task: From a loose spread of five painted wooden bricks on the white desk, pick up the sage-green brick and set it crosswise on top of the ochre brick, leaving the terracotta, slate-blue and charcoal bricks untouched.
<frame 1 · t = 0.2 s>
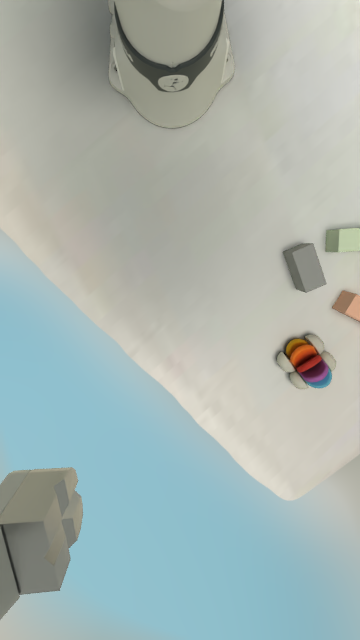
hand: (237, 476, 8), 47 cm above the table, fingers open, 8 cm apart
sage brick: (346, 239, 53), on the table
charcoal brick: (298, 266, 54), on the table
terracotta brick: (353, 307, 55), on the table
multicolored fanned-prong toy: (301, 357, 58), on the table
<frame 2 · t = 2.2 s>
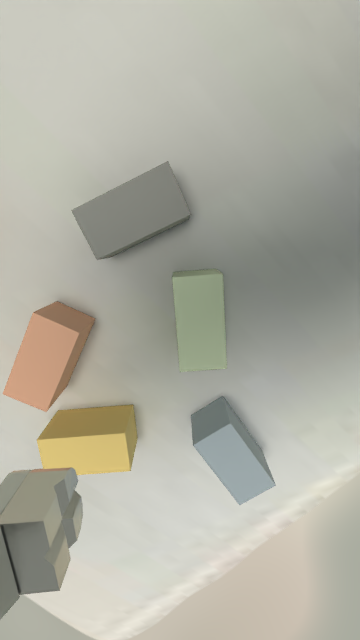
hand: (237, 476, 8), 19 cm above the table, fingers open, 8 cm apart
sage brick: (196, 311, 26), on the table
charcoal brick: (139, 217, 24), on the table
slate brick: (226, 432, 29), on the table
terracotta brick: (62, 344, 27), on the table
ochre brick: (98, 423, 29), on the table
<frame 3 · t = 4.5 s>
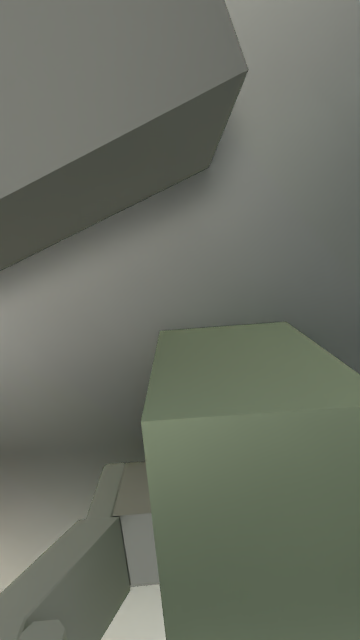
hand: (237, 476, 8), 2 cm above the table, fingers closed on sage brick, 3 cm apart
sage brick: (227, 437, 9), on the table, touching gripper
charcoal brick: (50, 162, 8), on the table
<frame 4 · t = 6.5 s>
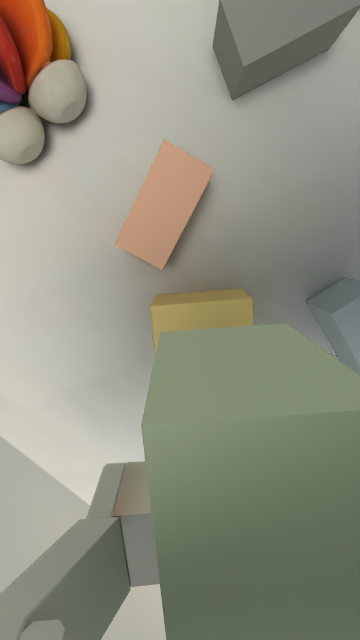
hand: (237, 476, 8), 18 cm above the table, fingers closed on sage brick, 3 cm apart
sage brick: (227, 438, 9), point 17 cm above the table, touching gripper
charcoal brick: (269, 49, 21), on the table
slate brick: (343, 323, 26), on the table
terracotta brick: (167, 213, 24), on the table
multicolored fanned-prong toy: (23, 91, 22), on the table
ochre brick: (199, 311, 26), on the table
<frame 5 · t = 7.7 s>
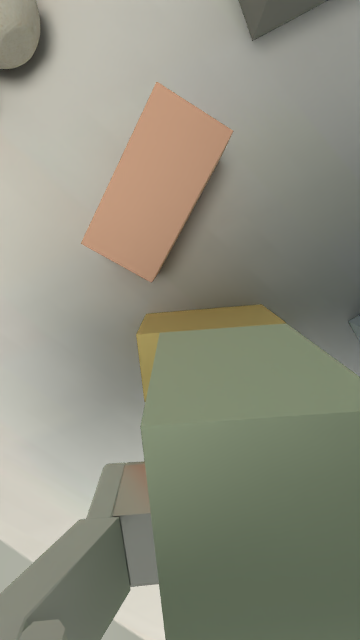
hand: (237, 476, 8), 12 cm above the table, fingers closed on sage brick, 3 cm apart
sage brick: (227, 439, 9), point 10 cm above the table, touching gripper
terracotta brick: (160, 203, 17), on the table
ochre brick: (205, 336, 19), on the table
when the fingers open (7 cm above the table, at t = 8.8 s): sage brick stays where it is, resting on ochre brick.
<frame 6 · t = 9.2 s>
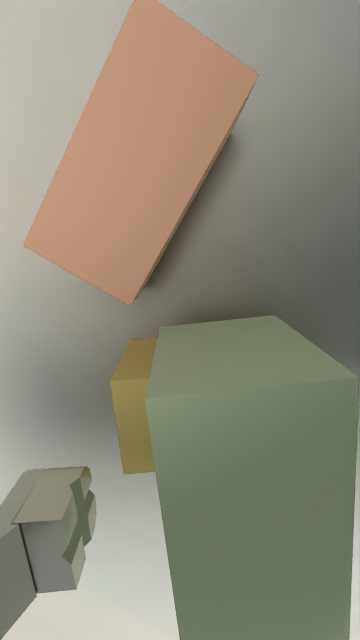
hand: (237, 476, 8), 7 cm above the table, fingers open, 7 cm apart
sage brick: (225, 422, 10), point 4 cm above the table, touching ochre brick
terracotta brick: (148, 192, 13), on the table
ochre brick: (208, 368, 15), on the table, touching sage brick
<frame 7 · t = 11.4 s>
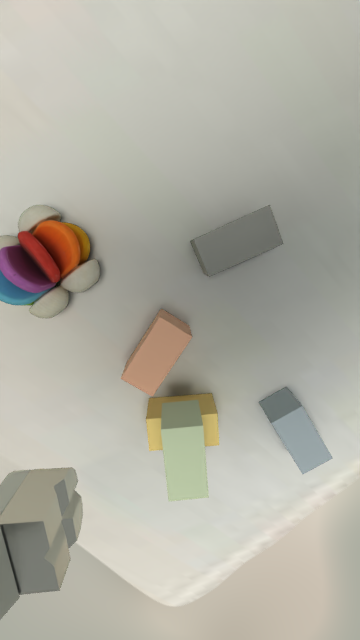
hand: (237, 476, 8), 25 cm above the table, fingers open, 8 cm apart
sage brick: (183, 433, 30), point 4 cm above the table, touching ochre brick
charcoal brick: (228, 242, 31), on the table
slate brick: (286, 417, 35), on the table
terracotta brick: (157, 343, 33), on the table
multicolored fanned-prong toy: (53, 263, 31), on the table
ochre brick: (181, 409, 35), on the table, touching sage brick
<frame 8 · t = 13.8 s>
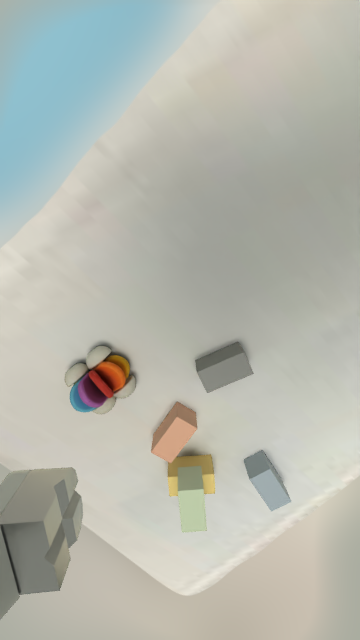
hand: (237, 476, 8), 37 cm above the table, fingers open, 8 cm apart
sage brick: (191, 486, 47), point 4 cm above the table
charcoal brick: (220, 360, 47), on the table
slate brick: (262, 469, 51), on the table
terracotta brick: (174, 423, 49), on the table
multicolored fanned-prong toy: (104, 374, 47), on the table
ochre brick: (190, 464, 51), on the table
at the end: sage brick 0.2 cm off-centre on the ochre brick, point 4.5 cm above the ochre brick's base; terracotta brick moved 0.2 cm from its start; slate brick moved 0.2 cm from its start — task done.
